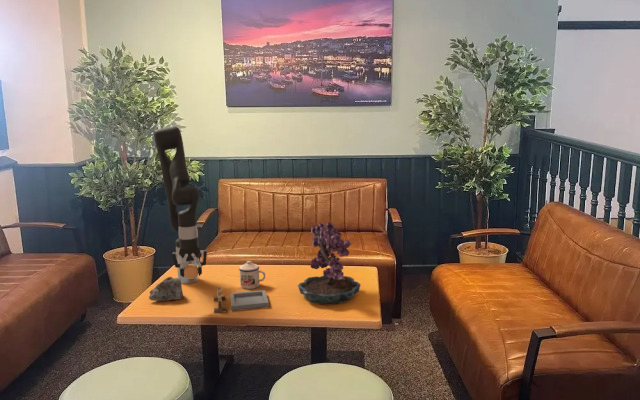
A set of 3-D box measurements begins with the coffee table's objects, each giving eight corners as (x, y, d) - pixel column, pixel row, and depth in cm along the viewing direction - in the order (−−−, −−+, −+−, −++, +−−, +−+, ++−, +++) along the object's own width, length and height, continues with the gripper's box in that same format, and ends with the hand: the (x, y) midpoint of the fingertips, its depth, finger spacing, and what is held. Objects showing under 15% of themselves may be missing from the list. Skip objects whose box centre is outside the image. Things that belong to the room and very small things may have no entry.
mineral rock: (148, 303, 231) (146, 281, 230) (158, 294, 242) (156, 272, 240) (177, 304, 230) (175, 281, 228) (186, 295, 240) (185, 273, 238)
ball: (181, 278, 223) (180, 264, 222) (194, 274, 227) (193, 261, 226) (188, 282, 219) (187, 267, 218) (201, 278, 223) (200, 264, 221)
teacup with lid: (237, 288, 246) (235, 264, 244) (243, 282, 255) (242, 258, 253) (263, 289, 244) (261, 264, 242) (268, 283, 253) (267, 258, 250)
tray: (230, 297, 235) (230, 293, 235) (265, 294, 238) (264, 289, 238) (231, 311, 221) (231, 306, 221) (268, 307, 224) (268, 302, 223)
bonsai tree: (362, 309, 220) (361, 230, 213) (295, 309, 221) (292, 231, 214) (359, 279, 254) (358, 211, 248) (301, 280, 255) (298, 212, 249)
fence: (213, 298, 235) (213, 287, 234) (225, 297, 235) (224, 286, 234) (214, 313, 219) (213, 301, 218) (226, 311, 220) (226, 300, 219)
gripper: (169, 240, 214) (172, 280, 218) (206, 237, 217) (209, 277, 221) (170, 235, 221) (173, 274, 225) (206, 232, 224) (209, 271, 228)
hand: (191, 275), depth 223 cm, fingers closed on ball, 6 cm apart
